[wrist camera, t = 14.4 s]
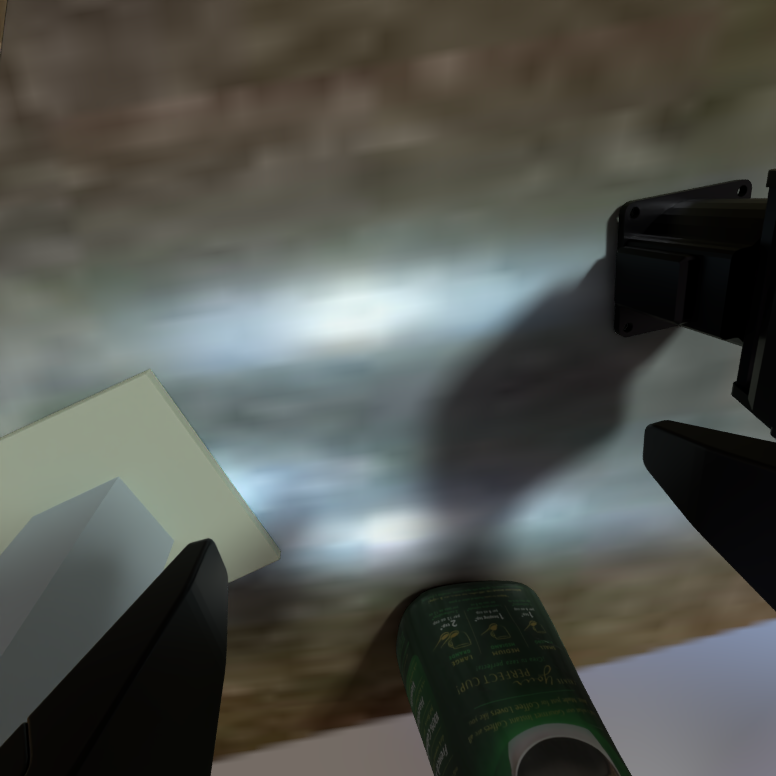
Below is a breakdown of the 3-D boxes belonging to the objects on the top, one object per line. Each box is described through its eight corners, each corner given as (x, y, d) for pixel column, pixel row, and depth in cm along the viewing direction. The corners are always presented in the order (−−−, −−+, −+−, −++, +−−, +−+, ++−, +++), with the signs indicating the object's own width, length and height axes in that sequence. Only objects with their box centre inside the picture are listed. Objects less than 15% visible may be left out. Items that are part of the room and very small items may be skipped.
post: (118, 476, 21) (-118, 838, 9) (174, 540, 23) (38, 911, 11) (32, 516, 21) (-317, 932, 9) (95, 577, 23) (-127, 988, 11)
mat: (149, 368, 20) (146, 373, 19) (280, 551, 25) (280, 559, 24) (-99, 483, 20) (-110, 491, 19) (83, 642, 25) (78, 652, 24)
